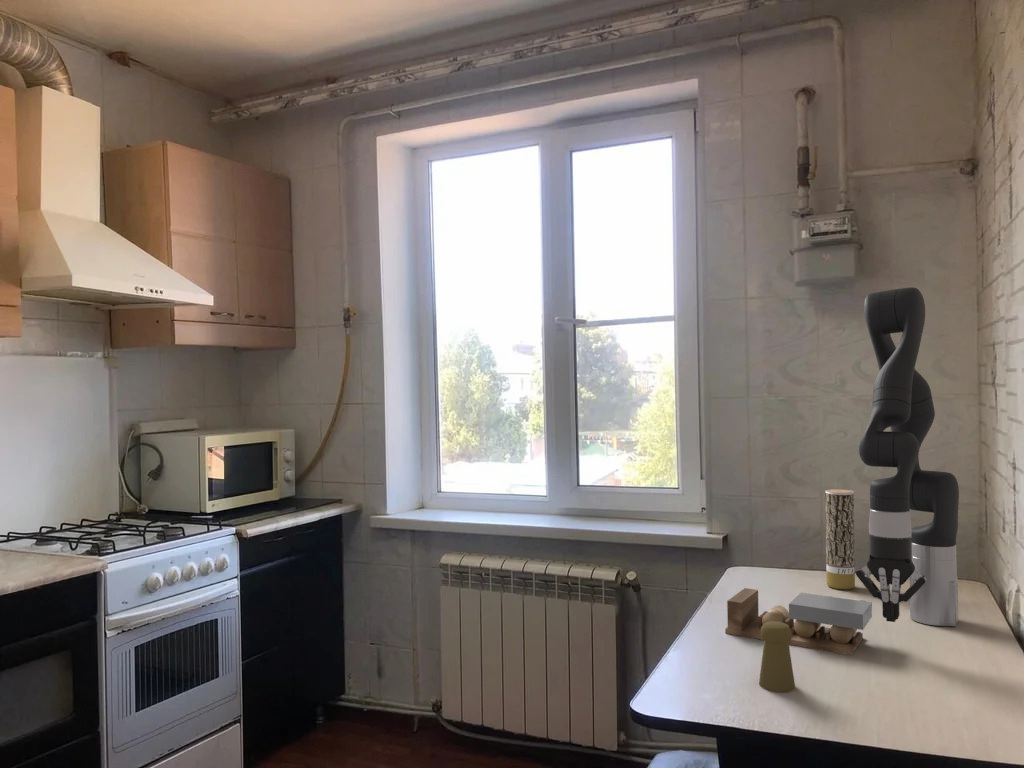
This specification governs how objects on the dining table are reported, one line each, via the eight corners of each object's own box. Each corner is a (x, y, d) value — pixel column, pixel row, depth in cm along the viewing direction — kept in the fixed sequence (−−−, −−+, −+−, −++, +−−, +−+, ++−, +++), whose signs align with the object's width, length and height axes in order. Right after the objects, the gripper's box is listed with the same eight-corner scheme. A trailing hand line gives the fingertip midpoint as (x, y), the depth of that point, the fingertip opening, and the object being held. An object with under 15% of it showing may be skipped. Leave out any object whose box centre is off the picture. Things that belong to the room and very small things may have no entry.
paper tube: (820, 585, 200) (819, 490, 200) (839, 582, 203) (838, 488, 203) (842, 591, 194) (840, 493, 194) (861, 588, 197) (859, 491, 197)
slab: (872, 616, 157) (871, 602, 157) (863, 629, 148) (862, 614, 148) (801, 606, 164) (801, 592, 164) (789, 618, 156) (788, 603, 156)
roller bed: (864, 638, 158) (863, 604, 158) (853, 655, 148) (852, 619, 148) (743, 618, 173) (742, 587, 173) (725, 633, 163) (725, 600, 163)
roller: (789, 625, 164) (789, 606, 164) (781, 633, 159) (781, 614, 159) (770, 622, 166) (770, 604, 166) (762, 630, 161) (761, 611, 161)
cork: (766, 676, 138) (765, 615, 138) (800, 684, 135) (799, 622, 135) (753, 686, 134) (752, 624, 134) (788, 695, 130) (787, 630, 130)
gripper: (850, 532, 151) (851, 620, 151) (925, 539, 143) (927, 631, 143) (857, 526, 157) (858, 610, 157) (930, 532, 149) (931, 621, 149)
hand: (891, 620), depth 150 cm, fingers closed
